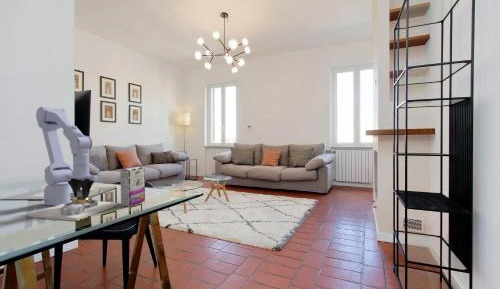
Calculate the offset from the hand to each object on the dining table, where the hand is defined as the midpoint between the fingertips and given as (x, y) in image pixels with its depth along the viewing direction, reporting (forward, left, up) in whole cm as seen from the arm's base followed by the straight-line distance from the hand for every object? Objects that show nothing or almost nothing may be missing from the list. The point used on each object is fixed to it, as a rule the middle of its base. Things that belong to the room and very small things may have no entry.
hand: (81, 196), depth 108 cm
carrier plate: (+1, -3, -5) cm, 6 cm away
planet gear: (0, 0, -2) cm, 2 cm away
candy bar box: (+16, +12, -5) cm, 21 cm away
